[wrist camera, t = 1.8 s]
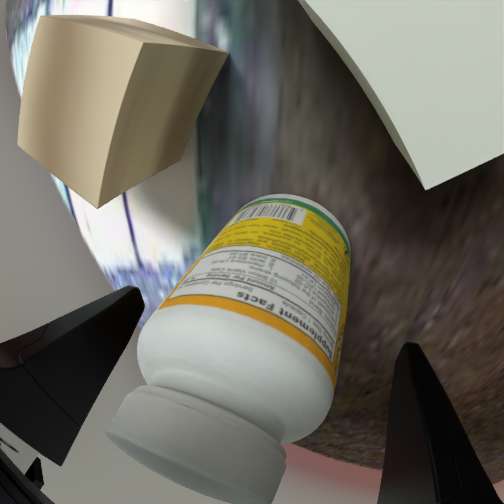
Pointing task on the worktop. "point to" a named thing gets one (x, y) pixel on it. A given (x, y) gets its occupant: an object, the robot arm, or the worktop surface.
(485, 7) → the white cube
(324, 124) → the worktop surface
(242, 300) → the supplement bottle
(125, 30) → the maple block
